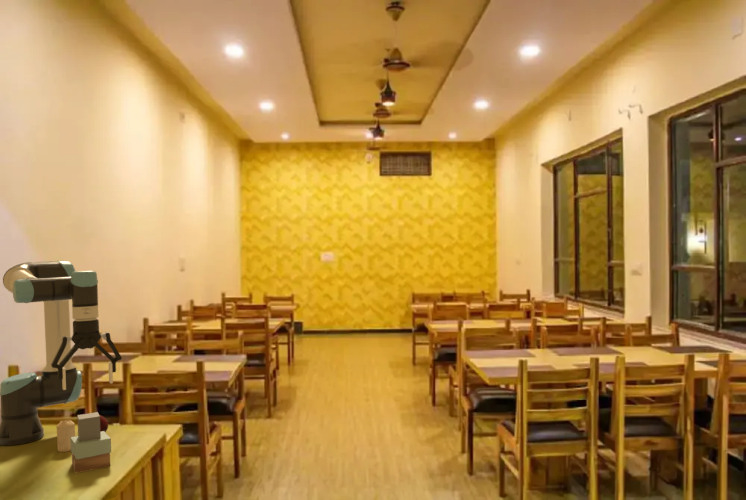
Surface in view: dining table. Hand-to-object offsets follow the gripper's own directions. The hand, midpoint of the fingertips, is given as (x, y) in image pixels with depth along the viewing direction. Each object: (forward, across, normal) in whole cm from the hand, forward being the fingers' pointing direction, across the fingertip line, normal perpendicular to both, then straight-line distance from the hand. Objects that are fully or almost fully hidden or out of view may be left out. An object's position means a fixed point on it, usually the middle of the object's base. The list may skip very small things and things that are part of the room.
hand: (88, 386), depth 196 cm
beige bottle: (+25, -5, +22) cm, 34 cm away
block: (+16, 0, -1) cm, 16 cm away
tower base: (+25, 0, -1) cm, 25 cm away
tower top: (+21, 0, -1) cm, 21 cm away
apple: (+26, +6, +32) cm, 41 cm away
